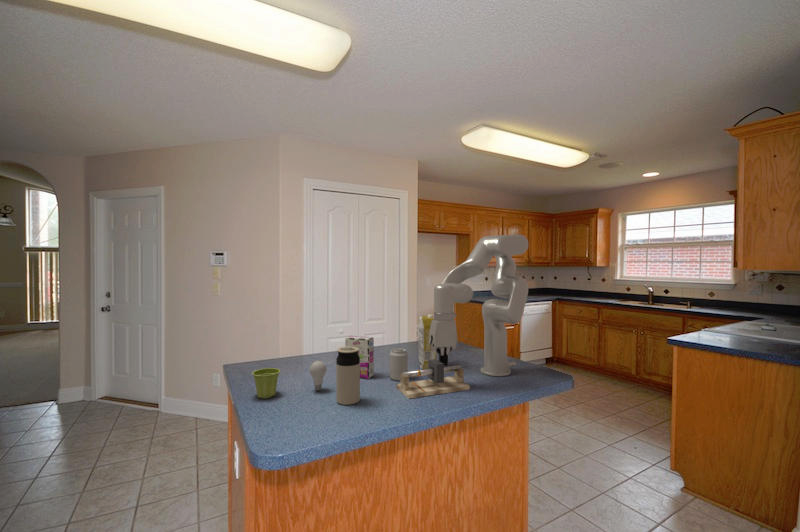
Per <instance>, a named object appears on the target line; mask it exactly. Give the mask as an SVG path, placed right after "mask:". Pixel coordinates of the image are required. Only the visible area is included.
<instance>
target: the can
mask: <svg viewBox="0 0 800 532" xmlns="http://www.w3.org/2000/svg"><path fill="white" fill-rule="evenodd" d="M408 355H409V353H408V352H407V349H405V348H402V347H396V348H395V347H393V348H392V349H391V350H390V352H389V378H390V379H391V380H392V381H395V382H396V381H397V382H401V374H402V373H403V372H409V371H408V370H409V367H408V366H409V365H408V363H409V362H408V361H409V358H408V357H409V356H408Z"/></svg>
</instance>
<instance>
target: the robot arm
mask: <svg viewBox="0 0 800 532" xmlns="http://www.w3.org/2000/svg"><path fill="white" fill-rule="evenodd" d="M528 249H529V240H528V238H527V237H526V236H525V235H523V234H499V235H487V236H486V235H485V236H482V237H481V238H480V239H479V240H478V242H477V243H476V245H475V246H474V248H473V249H472V251H471V252H470V254H469V255H468V257H467V259H466V260H465V261H464V262H462V263H460V264H459V265H458V266H456V267H455V268H453V269H452V270H451V271H450V272H449V273H448V274H447V275H446V276H445V278H444V280H443V281H442V282H441V284H435V286H434V287H433V316H434V320H432V322H431V327H430V336H429V344H430V345H431V348H430V349H431V350H432V351H436V354H438V361H440V362H441V363H443V364H444V367H448V363H449V355H450V353H451V352H452V351H453V350H456V349H457V344H458V332H457V324H456V320H454V319H455V318H456V317H457V313H455V312H454V311H455V310H454V309H455V306H454V305H455V303H457V304H467V303H469V302H470V301H471V300H472V299H473V297H474V291H473V288H472V287H471V286H470V285H469V284H466V283H463V282H464V281H467V280H468V279H471V278H475V277H477V276H479V275H481V274H483V273H484V272H485V271H486V269H487V267H488V266H489V263H490V262H491V261H492V259H493V258H495V262H496V267H495V271H494V272H495V273H494V276H493V278H492V279H493V280H492V283H491V288H490V291H491V294H492V295H493V296H494V297H497V299H496V298H491V299H488V300H485V301H484V302H483V304H482V306H481V314H482V320H483V325H484V327H483V328H484V330H483V332H484V335H483V336H484V337H483V339H484V340H483V341H484V342H483V343H484V344H483V345H484V347H483V350H484V351H483V352H484V353H483V355H484V359H483V360H484V361H483V365H484V366H482V367H480V372H481V373H482V374H484V375H487V376H491V377H507V376H510V375H511V373H512V372H511V371H512V370H511V369H510V368H511V367H512V368H514V367H516V366H517V363H516V362H515V361H508V330H507V327H506V325H505V324H508V325H515V324H518V323H520V322H521V320H522V318H523V315H524V310H525V307H526V304H527V299H528V294H529V283H528V282H527V279H525V278H524V277H521V276H517V275H516V270H517V264H516V262H515V260H514V258H513V257H512V256H516V255H518V256H519V255H523V254H525V253H526V252H527V250H528ZM499 298H503V299H499ZM505 299H506V300H505ZM507 299H508V300H507ZM435 347H436V348H435Z"/></svg>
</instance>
